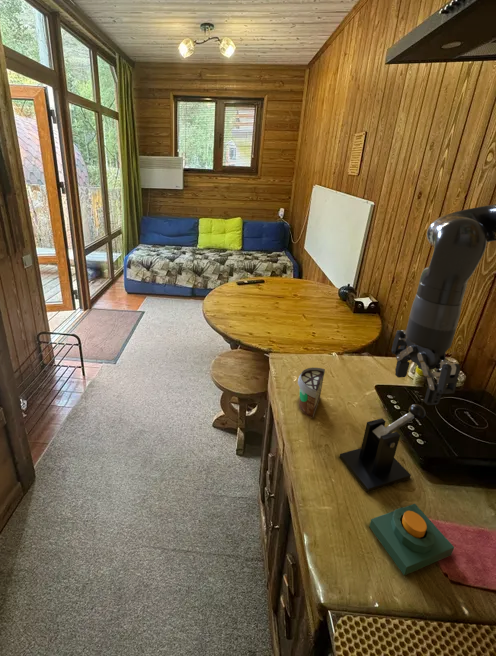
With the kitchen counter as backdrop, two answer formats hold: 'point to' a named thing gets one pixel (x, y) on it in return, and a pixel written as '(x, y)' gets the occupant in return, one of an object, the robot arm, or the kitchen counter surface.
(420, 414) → the lever
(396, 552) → the button panel
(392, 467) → the bracket
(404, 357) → the robot arm
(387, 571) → the kitchen counter surface
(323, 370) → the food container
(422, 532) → the button
